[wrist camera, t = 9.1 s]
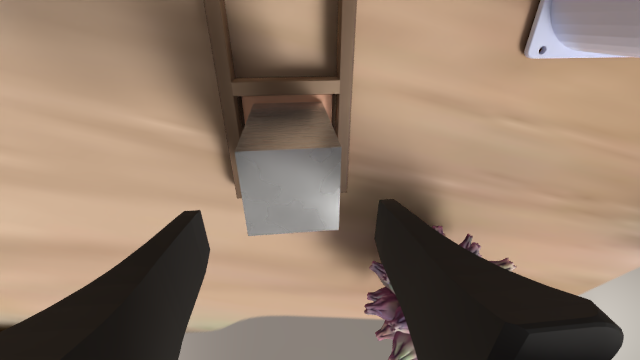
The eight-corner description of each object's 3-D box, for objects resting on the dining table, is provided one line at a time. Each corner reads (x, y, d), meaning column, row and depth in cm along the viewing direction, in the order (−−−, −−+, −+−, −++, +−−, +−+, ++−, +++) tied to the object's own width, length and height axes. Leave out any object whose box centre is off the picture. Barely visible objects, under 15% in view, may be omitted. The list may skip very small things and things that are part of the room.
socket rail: (364, -298, 12) (374, -336, 11) (343, 182, 23) (346, 192, 22) (159, -317, 11) (142, -361, 10) (239, 187, 22) (237, 198, 21)
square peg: (322, 101, 20) (341, 146, 13) (322, 162, 22) (338, 229, 15) (253, 103, 19) (234, 151, 12) (260, 165, 21) (248, 236, 14)
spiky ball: (351, 203, 24) (400, 340, 14) (486, 193, 25) (624, 315, 15) (347, 295, 30) (380, 441, 20) (457, 284, 31) (543, 418, 21)
